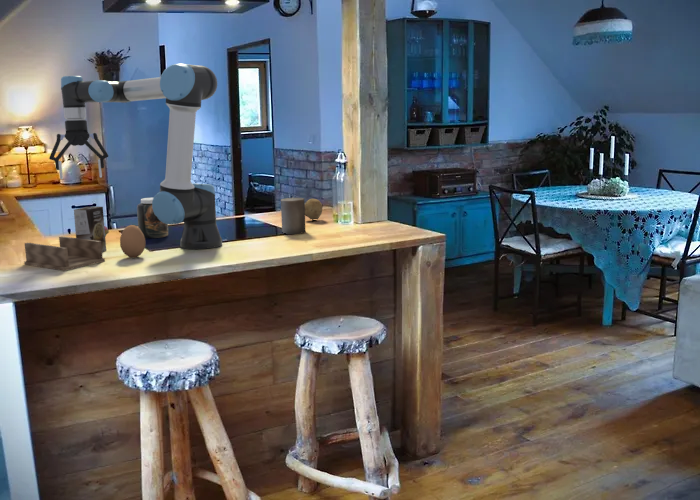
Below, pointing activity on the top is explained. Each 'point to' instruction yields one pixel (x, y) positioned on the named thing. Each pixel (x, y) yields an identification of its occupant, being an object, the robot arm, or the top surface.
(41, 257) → the walnut rack
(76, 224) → the coffee box
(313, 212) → the natural sponge
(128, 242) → the egg
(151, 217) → the jar
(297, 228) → the pillar candle
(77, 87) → the robot arm
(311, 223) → the top surface
